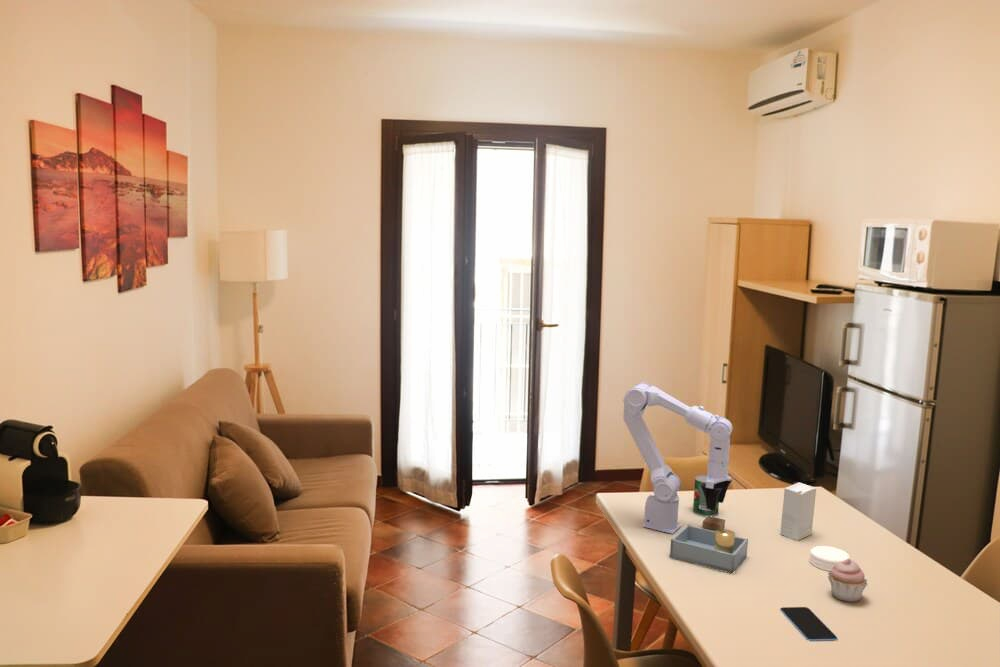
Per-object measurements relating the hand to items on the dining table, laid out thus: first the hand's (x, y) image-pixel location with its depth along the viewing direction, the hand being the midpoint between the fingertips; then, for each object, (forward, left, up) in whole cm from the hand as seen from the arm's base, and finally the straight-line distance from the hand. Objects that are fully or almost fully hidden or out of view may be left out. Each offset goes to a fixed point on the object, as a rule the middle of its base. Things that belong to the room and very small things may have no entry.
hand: (715, 505), depth 232 cm
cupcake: (+39, -18, -10) cm, 44 cm away
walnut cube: (0, 0, -10) cm, 10 cm away
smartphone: (+34, -38, -10) cm, 52 cm away
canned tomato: (-8, +18, -10) cm, 22 cm away
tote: (+4, -15, -9) cm, 18 cm away
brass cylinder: (+8, -15, -8) cm, 19 cm away
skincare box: (+20, +16, -10) cm, 27 cm away
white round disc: (+32, 0, -10) cm, 33 cm away
